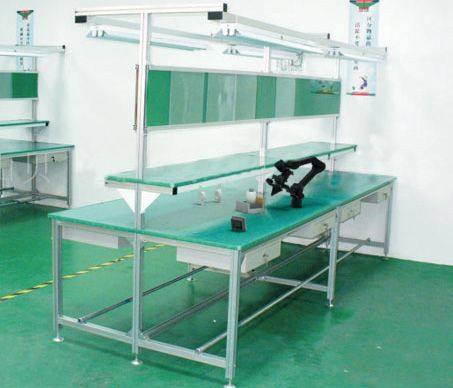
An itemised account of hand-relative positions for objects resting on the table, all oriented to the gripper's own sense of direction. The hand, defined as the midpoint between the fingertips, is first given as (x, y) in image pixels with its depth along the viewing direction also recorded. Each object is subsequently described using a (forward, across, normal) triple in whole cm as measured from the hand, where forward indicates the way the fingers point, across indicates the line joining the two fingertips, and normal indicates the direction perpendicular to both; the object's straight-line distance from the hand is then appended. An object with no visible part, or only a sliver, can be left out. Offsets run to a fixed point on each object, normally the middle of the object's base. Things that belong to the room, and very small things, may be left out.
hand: (271, 195), depth 426 cm
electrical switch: (+43, +32, -46) cm, 70 cm away
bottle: (+16, -2, -8) cm, 18 cm away
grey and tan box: (+17, -2, -7) cm, 19 cm away
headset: (+24, -34, -8) cm, 42 cm away
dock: (+17, -2, -7) cm, 19 cm away
